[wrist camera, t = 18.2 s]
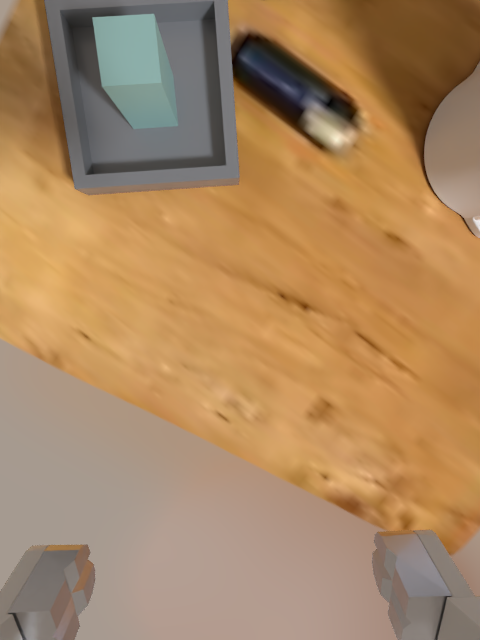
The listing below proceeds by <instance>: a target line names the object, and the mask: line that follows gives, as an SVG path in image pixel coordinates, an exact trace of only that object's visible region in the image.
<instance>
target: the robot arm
mask: <svg viewBox="0 0 480 640" xmlns="http://www.w3.org/2000/svg"><path fill="white" fill-rule="evenodd" d="M424 161H425V168H426V173H427V176H428V179H429V182H430V184H431V186H432V188H433V190H434V192H435V193H436V195H437V196H438V197H439V198H440V200H441V201H442V202H443V203H444V204H446V205H447V206H448V207H449V208H451V209H452V210H454V211H455V212H457V213H458V214H460V215H461V216H462V217H463V218H464V219H465V221H466V223H467V224H468V226H469V228H470V229H471V231H472V232H473V234H474V235H475V236H477V237H478V238H480V62H479V63H478V65H477V67H476V68H475V70H474V72H473V73H472V74H471V75H470V76H469V77H468V78H467V79H465V80H464V81H463V82H462V83H460V84H459V85H458V86H456V87H455V88H454V89H453V90H452V91H451V92H450V93H449V94H448V95H447V96H446V97H445V98H444V100H443V101H442V102H441V104H440V105H439V107H438V108H437V110H436V112H435V113H434V115H433V117H432V120H431V122H430V125H429V128H428V131H427V135H426V139H425V147H424ZM374 543H375V545H376V547H377V549H376V550H375V551H374V552H373V557H372V565H373V572H374V577H375V580H376V584H377V587H378V589H379V592H380V594H381V595H382V596H383V597H384V598H385V599H386V600H387V601H388V602H389V610H388V616H389V619H390V621H391V624H392V626H393V629H394V632H395V634H396V637H397V639H398V640H480V596H475V595H474V593H473V592H472V590H471V589H470V587H469V585H468V584H467V582H466V581H465V579H464V578H463V576H462V574H461V573H460V571H459V570H458V568H457V566H456V565H455V563H454V562H453V560H452V558H451V557H450V555H449V554H448V552H447V551H446V549H445V547H444V546H443V544H442V543H441V541H440V540H439V538H438V536H437V535H436V533H434V532H433V531H432V530H416V531H412V530H403V531H386V532H377V533H376V534H375V538H374ZM89 555H90V550H89V547H88V545H87V544H86V545H37V546H32V547H30V548H29V549H28V550H27V551H26V552H25V553H24V555H23V556H22V558H21V560H20V562H19V563H18V564H17V566H16V568H15V569H14V571H13V572H12V574H11V575H10V577H9V578H8V580H7V582H6V583H5V585H4V586H3V588H2V589H1V591H0V640H75V637H76V635H77V632H78V629H79V627H80V624H79V619H78V615H79V614H80V613H81V612H82V611H83V610H84V609H85V608H86V607H87V606H88V604H89V601H90V598H91V595H92V593H93V588H94V583H95V568H94V564H93V563H92V562H90V561H89V560H88V557H89Z"/></svg>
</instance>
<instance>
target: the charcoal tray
mask: <svg viewBox="0 0 480 640" xmlns="http://www.w3.org/2000/svg"><path fill="white" fill-rule="evenodd" d="M44 2H45V8H46V14H47V20H48V27H49V33H50V39H51V45H52V51H53V57H54V64H55V70H56V76H57V82H58V88H59V94H60V101H61V107H62V113H63V119H64V125H65V131H66V137H67V144H68V150H69V156H70V162H71V168H72V174H73V181H74V187H75V189H76V190H78V191H80V192H83V193H85V194H87V195H98V194H112V193H127V192H141V191H156V190H170V189H185V188H199V187H214V186H228V185H239V163H238V148H237V133H236V118H235V104H234V89H233V74H232V59H231V44H230V29H229V15H228V0H44ZM141 14H154V15H155V18H156V22H157V25H158V28H159V31H160V34H161V38H162V41H163V44H164V47H165V51H166V54H167V57H168V60H169V63H170V67H171V70H172V73H173V78H174V88H175V98H176V108H177V118H178V126H172V127H157V128H141V129H133V128H132V126H131V125H130V124H129V122H128V121H127V120H126V118H125V117H124V116H123V114H122V113H121V112H120V110H119V109H118V107H117V106H116V105H115V103H114V102H113V101H112V99H111V98H110V97H109V95H108V94H107V93H106V91H105V90H104V89H103V87H102V84H101V76H100V69H99V62H98V55H97V48H96V40H95V33H94V26H93V19H92V17H107V16H124V15H141Z"/></svg>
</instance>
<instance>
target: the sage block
mask: <svg viewBox="0 0 480 640" xmlns="http://www.w3.org/2000/svg"><path fill="white" fill-rule="evenodd" d="M92 19H93V26H94V33H95V40H96V48H97V55H98V62H99V69H100V76H101V84H102V87H103V89H104V90H105V91H106V93H107V94H108V95H109V97H110V98H111V99H112V101H113V102H114V103H115V105H116V106H117V107H118V109H119V110H120V112H121V113H122V114H123V116H124V117H125V118H126V120H127V121H128V122H129V124H130V125H131V126H132V128H133V129H141V128H157V127H172V126H178V118H177V108H176V98H175V88H174V78H173V73H172V70H171V67H170V63H169V60H168V57H167V54H166V51H165V47H164V44H163V41H162V38H161V34H160V31H159V28H158V25H157V22H156V18H155V15H154V14H141V15H124V16H107V17H92Z"/></svg>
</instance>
